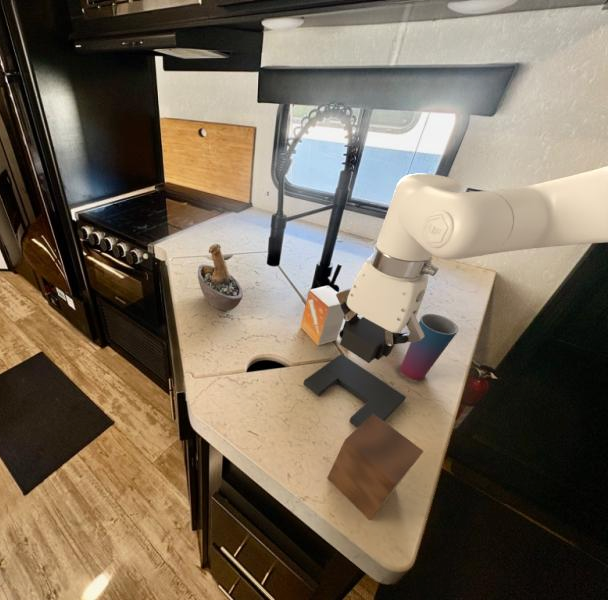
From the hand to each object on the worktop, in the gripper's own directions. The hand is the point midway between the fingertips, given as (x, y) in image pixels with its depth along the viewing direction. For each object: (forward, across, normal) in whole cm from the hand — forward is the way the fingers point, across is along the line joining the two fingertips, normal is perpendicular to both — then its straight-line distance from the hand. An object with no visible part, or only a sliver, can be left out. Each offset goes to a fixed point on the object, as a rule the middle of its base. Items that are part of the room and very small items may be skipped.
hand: (363, 344), depth 58 cm
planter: (+17, +44, 0) cm, 47 cm away
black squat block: (+1, 0, 0) cm, 1 cm away
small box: (+17, +17, -14) cm, 27 cm away
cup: (+17, -5, -21) cm, 27 cm away
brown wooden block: (+16, -12, +12) cm, 24 cm away
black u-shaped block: (+16, 0, -4) cm, 17 cm away
